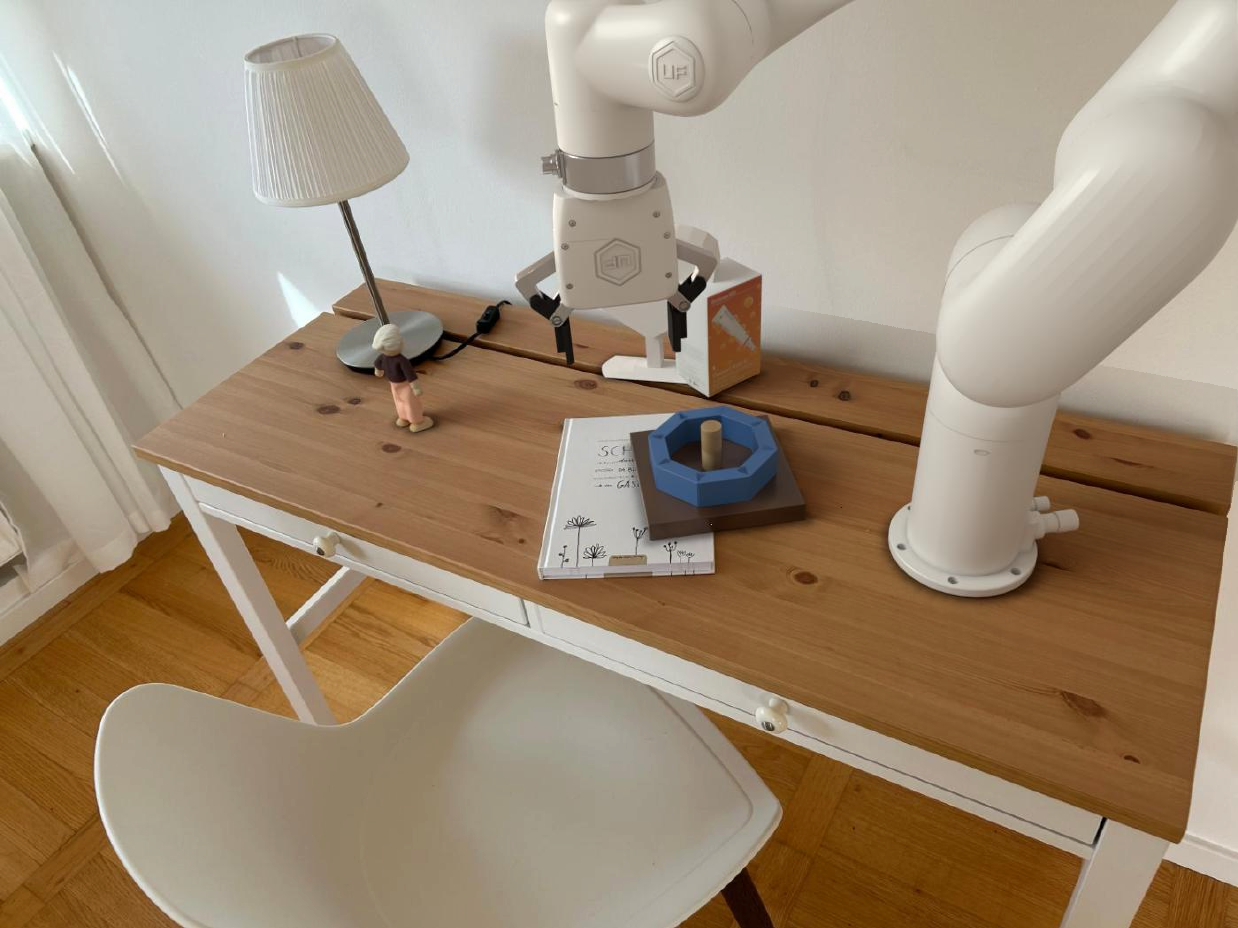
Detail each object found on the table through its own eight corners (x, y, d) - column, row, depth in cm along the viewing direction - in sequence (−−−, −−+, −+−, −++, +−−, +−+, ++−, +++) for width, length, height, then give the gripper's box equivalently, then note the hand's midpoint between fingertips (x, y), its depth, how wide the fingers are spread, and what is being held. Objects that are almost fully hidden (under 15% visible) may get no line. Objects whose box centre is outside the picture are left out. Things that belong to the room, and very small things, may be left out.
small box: (709, 399, 103) (706, 297, 95) (675, 377, 108) (669, 278, 100) (762, 373, 107) (763, 273, 99) (727, 353, 111) (725, 255, 103)
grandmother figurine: (448, 419, 104) (424, 323, 97) (428, 437, 102) (402, 340, 94) (396, 406, 108) (369, 312, 100) (375, 423, 105) (346, 328, 97)
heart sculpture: (723, 363, 109) (721, 221, 98) (715, 385, 105) (712, 241, 94) (600, 354, 113) (585, 217, 102) (589, 376, 109) (571, 236, 98)
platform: (767, 429, 98) (768, 375, 94) (804, 519, 86) (808, 462, 82) (630, 447, 97) (625, 393, 93) (649, 540, 86) (645, 484, 81)
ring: (757, 424, 96) (757, 400, 94) (786, 495, 86) (787, 471, 84) (645, 438, 95) (643, 415, 93) (662, 512, 86) (660, 488, 84)
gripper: (498, 195, 68) (528, 384, 78) (725, 170, 68) (724, 361, 79) (498, 160, 74) (526, 341, 84) (707, 137, 74) (708, 320, 85)
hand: (622, 351), depth 82 cm, fingers open, 9 cm apart
